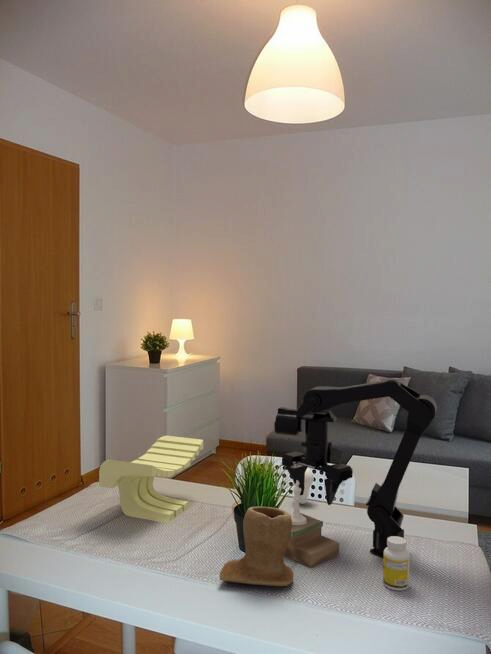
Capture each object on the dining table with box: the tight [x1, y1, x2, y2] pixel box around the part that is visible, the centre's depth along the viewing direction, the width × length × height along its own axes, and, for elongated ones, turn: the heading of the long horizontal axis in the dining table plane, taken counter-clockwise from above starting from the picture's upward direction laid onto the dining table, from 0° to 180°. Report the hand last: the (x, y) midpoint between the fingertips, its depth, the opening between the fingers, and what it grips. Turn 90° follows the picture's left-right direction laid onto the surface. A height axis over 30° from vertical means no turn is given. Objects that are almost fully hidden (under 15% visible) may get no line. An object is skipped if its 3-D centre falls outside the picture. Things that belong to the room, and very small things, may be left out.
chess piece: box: [289, 480, 307, 525], centre depth 138 cm, size 5×5×10 cm
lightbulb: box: [299, 467, 315, 505], centre depth 169 cm, size 6×6×11 cm
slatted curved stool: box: [98, 435, 204, 524], centre depth 162 cm, size 30×16×18 cm, turn 159°
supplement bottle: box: [382, 536, 411, 592], centre depth 121 cm, size 5×5×10 cm
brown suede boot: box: [219, 506, 295, 587], centre depth 123 cm, size 15×12×15 cm
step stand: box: [284, 512, 340, 568], centre depth 136 cm, size 13×10×6 cm
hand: (315, 499), depth 143 cm, fingers open, 9 cm apart
